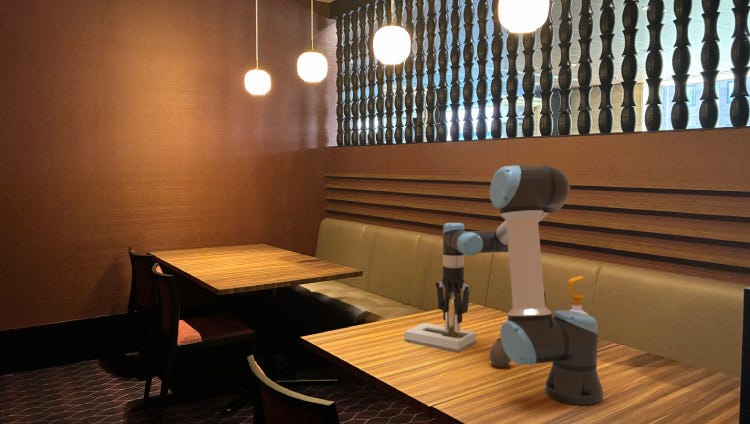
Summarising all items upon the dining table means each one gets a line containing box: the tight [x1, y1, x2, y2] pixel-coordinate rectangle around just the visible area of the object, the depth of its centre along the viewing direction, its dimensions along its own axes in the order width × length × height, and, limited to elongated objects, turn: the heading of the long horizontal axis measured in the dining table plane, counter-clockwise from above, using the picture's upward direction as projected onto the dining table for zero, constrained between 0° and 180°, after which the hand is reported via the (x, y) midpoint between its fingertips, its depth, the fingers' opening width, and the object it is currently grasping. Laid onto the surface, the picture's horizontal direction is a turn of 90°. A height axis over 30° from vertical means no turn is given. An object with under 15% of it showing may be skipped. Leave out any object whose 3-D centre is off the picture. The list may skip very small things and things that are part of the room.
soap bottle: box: [567, 275, 589, 315], centre depth 203 cm, size 9×9×25 cm
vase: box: [489, 337, 512, 369], centre depth 181 cm, size 7×7×9 cm
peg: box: [446, 297, 461, 339], centre depth 203 cm, size 6×6×16 cm
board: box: [404, 322, 477, 353], centre depth 206 cm, size 14×22×4 cm, turn 54°
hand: (452, 330), depth 203 cm, fingers closed on peg, 3 cm apart
